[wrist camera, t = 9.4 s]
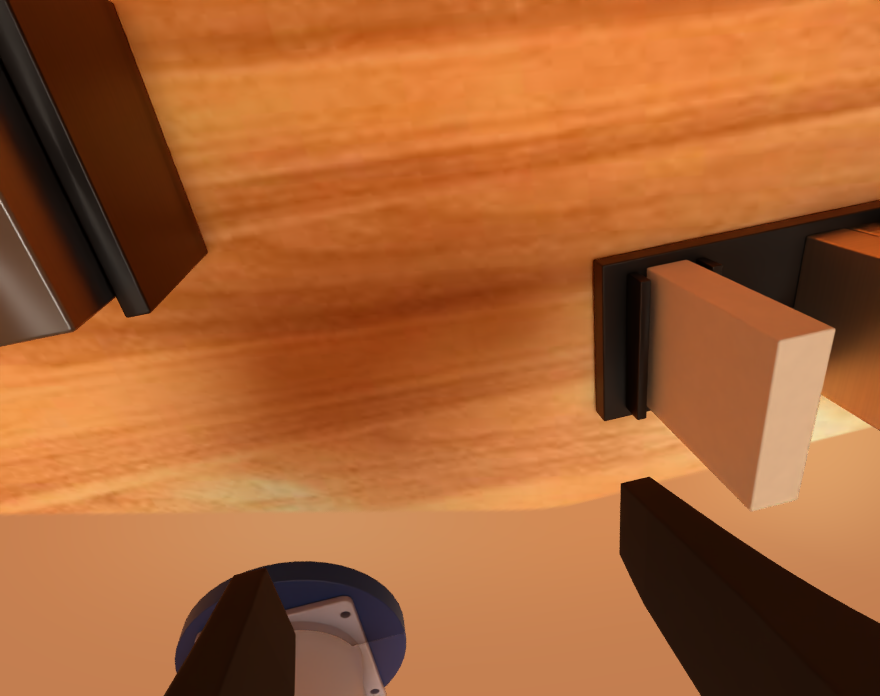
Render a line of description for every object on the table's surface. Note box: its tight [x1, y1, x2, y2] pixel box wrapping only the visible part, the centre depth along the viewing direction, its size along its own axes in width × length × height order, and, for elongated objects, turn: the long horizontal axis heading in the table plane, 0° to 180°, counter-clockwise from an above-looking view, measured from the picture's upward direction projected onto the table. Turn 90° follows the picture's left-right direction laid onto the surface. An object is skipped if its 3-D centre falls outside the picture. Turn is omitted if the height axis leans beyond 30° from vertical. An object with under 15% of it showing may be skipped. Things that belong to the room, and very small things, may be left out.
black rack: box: [594, 201, 880, 431], centre depth 18 cm, size 12×7×7 cm, turn 99°
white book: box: [647, 260, 835, 511], centre depth 17 cm, size 2×6×6 cm, turn 9°
